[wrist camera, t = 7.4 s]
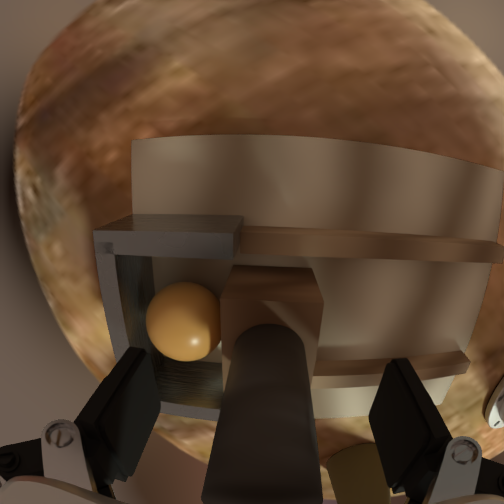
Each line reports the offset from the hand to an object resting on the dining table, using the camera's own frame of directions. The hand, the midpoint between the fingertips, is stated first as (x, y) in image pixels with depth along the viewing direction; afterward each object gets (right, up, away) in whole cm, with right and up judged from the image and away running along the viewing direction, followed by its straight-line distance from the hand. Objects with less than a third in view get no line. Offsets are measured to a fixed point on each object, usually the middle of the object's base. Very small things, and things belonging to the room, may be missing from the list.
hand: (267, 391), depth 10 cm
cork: (+10, -15, +12) cm, 22 cm away
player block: (0, +2, +6) cm, 6 cm away
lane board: (+4, +2, +8) cm, 9 cm away
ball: (-4, +1, +5) cm, 6 cm away
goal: (-4, +2, +7) cm, 8 cm away
